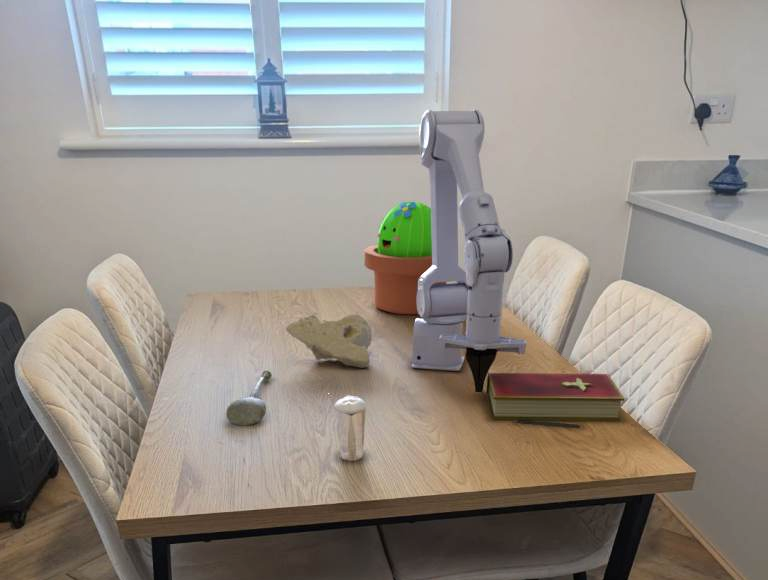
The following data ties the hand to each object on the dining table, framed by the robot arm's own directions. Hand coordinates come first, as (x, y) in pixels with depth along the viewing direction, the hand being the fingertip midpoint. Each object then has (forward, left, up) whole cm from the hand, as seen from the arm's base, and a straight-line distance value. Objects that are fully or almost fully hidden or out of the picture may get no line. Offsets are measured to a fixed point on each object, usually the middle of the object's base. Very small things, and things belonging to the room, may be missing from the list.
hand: (479, 390), depth 125 cm
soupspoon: (-38, -9, -2) cm, 39 cm away
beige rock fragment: (-31, +13, -2) cm, 34 cm away
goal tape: (+12, 0, -2) cm, 12 cm away
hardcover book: (+12, -1, -2) cm, 13 cm away
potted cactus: (-24, +59, -2) cm, 64 cm away
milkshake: (-16, -27, -2) cm, 32 cm away
